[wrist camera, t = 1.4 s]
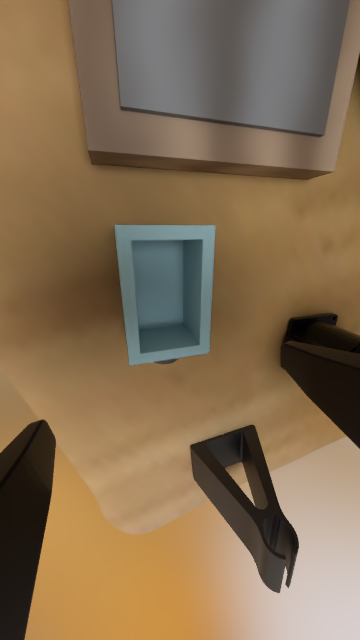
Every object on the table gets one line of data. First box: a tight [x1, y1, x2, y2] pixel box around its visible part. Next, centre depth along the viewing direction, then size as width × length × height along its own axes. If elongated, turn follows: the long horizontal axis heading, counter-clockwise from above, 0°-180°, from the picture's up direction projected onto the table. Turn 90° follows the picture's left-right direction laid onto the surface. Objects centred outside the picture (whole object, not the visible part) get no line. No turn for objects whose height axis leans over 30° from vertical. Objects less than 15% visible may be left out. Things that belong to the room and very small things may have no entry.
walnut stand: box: [68, 0, 360, 180], centre depth 13 cm, size 18×15×3 cm
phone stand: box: [191, 425, 299, 593], centre depth 24 cm, size 9×6×12 cm, turn 94°
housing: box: [114, 225, 215, 365], centre depth 17 cm, size 6×10×5 cm, turn 0°
